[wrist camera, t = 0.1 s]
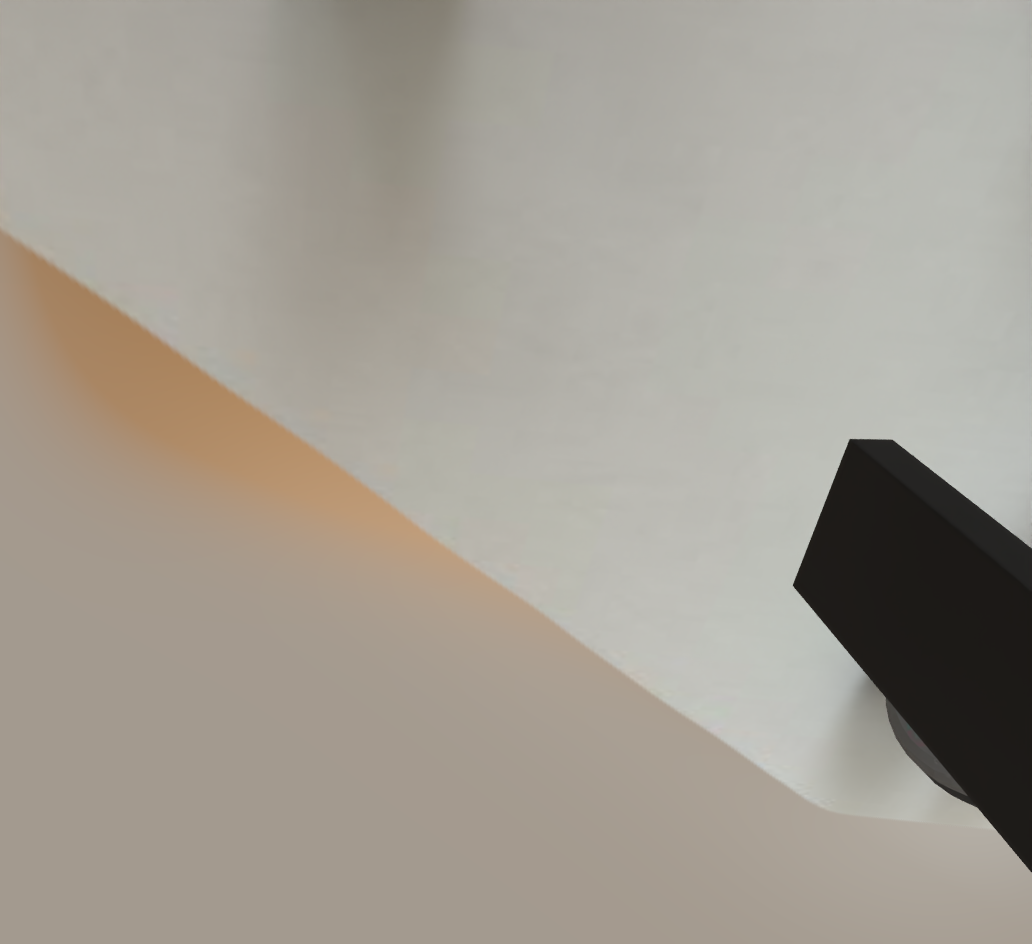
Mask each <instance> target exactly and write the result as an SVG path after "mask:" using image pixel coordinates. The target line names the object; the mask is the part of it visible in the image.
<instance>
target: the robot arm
mask: <svg viewBox="0 0 1032 944" xmlns="http://www.w3.org/2000/svg"><path fill="white" fill-rule="evenodd" d="M793 586H794V588H795V589H796V590H797V591H798V592H799V594H800V595H801V596H802V597H803V598H804V600H805V601H806V602H807V603H808V604H809V606H810V607H811V608H812V609H813V610H814V612H815V613H816V614H817V615H818V617H819V618H820V619H821V620H822V621H823V623H824V624H825V625H826V626H827V627H828V629H829V630H830V631H831V632H832V633H833V635H834V636H835V637H836V638H837V639H838V641H839V642H840V643H841V644H842V645H843V647H844V648H845V649H846V650H847V651H848V653H849V654H850V655H851V656H852V657H853V659H854V660H855V661H856V662H857V663H858V665H859V666H860V667H861V668H862V669H863V671H864V672H865V673H866V674H867V675H868V677H869V678H870V679H871V680H872V681H873V683H874V684H875V685H876V686H877V687H878V689H879V690H880V691H881V692H882V693H883V695H884V696H885V697H886V698H887V699H888V701H889V702H890V703H891V704H892V705H893V707H894V708H895V709H896V710H897V711H898V713H899V714H900V715H901V716H902V717H903V719H904V720H905V721H906V722H907V723H908V725H909V726H910V727H911V728H912V729H913V731H914V732H915V733H916V734H917V735H918V737H919V738H920V739H921V740H922V741H923V743H924V744H925V745H926V746H927V747H928V749H929V750H930V751H931V752H932V753H933V755H934V756H935V757H936V758H937V759H938V761H939V762H940V763H941V764H942V765H943V767H944V768H945V769H946V770H947V771H948V773H949V774H950V775H951V776H952V777H953V779H954V780H955V781H956V782H957V783H958V785H959V786H960V787H961V788H962V789H963V791H964V792H965V793H966V794H967V795H968V797H969V798H970V799H971V800H972V801H973V803H974V804H975V805H976V806H977V807H978V809H979V810H980V811H981V812H982V813H983V815H984V816H985V817H986V818H987V819H988V821H989V822H990V823H991V824H992V825H993V827H994V828H995V829H996V830H997V831H998V833H999V834H1000V835H1001V836H1002V837H1003V839H1004V840H1005V841H1006V842H1007V843H1008V845H1009V846H1010V847H1011V848H1012V849H1013V851H1014V852H1015V853H1016V854H1017V856H1019V858H1020V859H1021V860H1022V862H1023V863H1024V864H1025V865H1026V866H1027V867H1028V869H1029V870H1030V871H1031V872H1032V548H1030V547H1029V546H1028V545H1026V544H1025V543H1024V542H1023V541H1021V540H1020V539H1019V538H1017V537H1016V536H1015V535H1014V534H1012V533H1011V532H1010V531H1009V530H1007V529H1006V528H1005V527H1003V526H1002V525H1001V524H1000V523H998V522H997V521H996V520H994V519H993V518H992V517H991V516H989V515H988V514H987V513H985V512H984V511H983V510H982V509H980V508H979V507H978V506H977V505H975V504H974V503H973V502H971V501H970V500H969V499H968V498H966V497H965V496H964V495H962V494H961V493H960V492H959V491H957V490H956V489H955V488H953V487H952V486H951V485H950V484H948V483H947V482H946V481H945V480H943V479H942V478H941V477H939V476H938V475H937V474H936V473H934V472H933V471H932V470H930V469H929V468H928V467H927V466H925V465H924V464H923V463H921V462H920V461H919V460H918V459H916V458H915V457H914V456H912V455H911V454H910V453H909V452H907V451H906V450H905V449H904V448H902V447H901V446H900V445H898V444H897V443H896V442H895V441H893V440H877V439H850V440H849V442H848V445H847V447H846V450H845V453H844V455H843V458H842V460H841V463H840V465H839V468H838V471H837V473H836V476H835V478H834V481H833V483H832V486H831V489H830V491H829V494H828V496H827V499H826V501H825V504H824V507H823V509H822V512H821V514H820V517H819V519H818V522H817V525H816V527H815V530H814V532H813V535H812V537H811V540H810V542H809V545H808V548H807V550H806V553H805V555H804V558H803V560H802V563H801V566H800V568H799V571H798V573H797V576H796V578H795V581H794V584H793Z"/></svg>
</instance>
